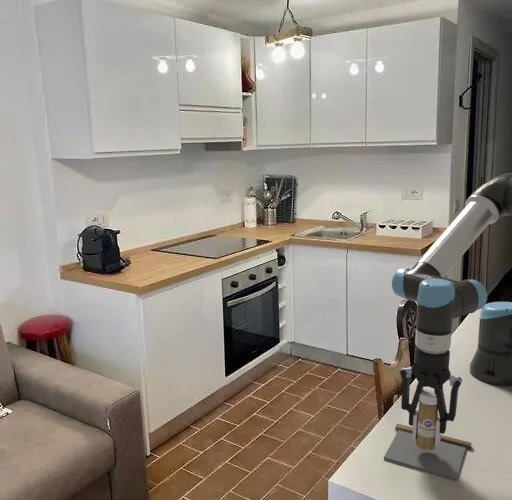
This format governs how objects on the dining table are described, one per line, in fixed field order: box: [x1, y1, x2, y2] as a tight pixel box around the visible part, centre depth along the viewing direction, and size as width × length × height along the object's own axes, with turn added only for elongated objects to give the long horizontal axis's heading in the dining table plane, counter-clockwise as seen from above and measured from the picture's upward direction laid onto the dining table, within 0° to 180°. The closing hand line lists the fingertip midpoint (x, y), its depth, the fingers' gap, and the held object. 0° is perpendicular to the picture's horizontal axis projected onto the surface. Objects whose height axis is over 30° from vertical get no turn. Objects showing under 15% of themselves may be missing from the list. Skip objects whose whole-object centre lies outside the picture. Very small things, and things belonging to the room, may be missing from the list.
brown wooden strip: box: [394, 423, 473, 450], centre depth 130 cm, size 2×18×1 cm, turn 60°
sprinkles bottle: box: [416, 388, 439, 450], centre depth 121 cm, size 5×5×13 cm
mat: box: [383, 430, 466, 481], centre depth 123 cm, size 13×16×1 cm
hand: (426, 440), depth 123 cm, fingers closed on sprinkles bottle, 4 cm apart
